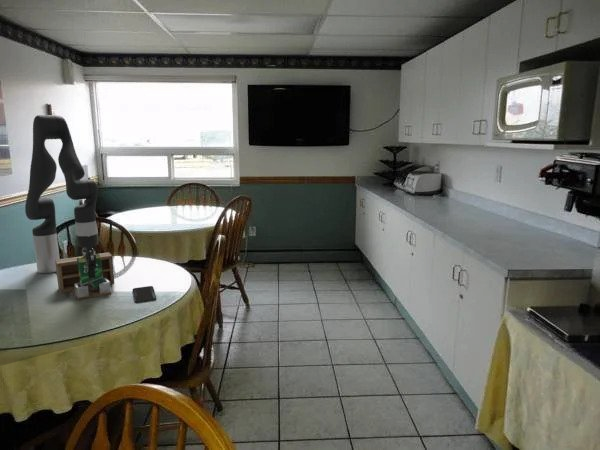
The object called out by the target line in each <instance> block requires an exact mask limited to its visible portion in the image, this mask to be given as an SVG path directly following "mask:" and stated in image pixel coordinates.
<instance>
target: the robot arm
mask: <svg viewBox="0 0 600 450" xmlns="http://www.w3.org/2000/svg"><path fill="white" fill-rule="evenodd" d="M32 124H33V125H32V153H31V154H32V155H31V162H30V170H29V182H28V183H29V185H28V189H27V190H28V191H27V196H26V200H25V206H24V210H25V211H24V212H25V216H26V217H27V219H28V220H31V221H39V220H44V221H43V222H42V223H40V224H39V225H37V226H35V227H33V229H32V230H31V233H32V238H33V239H32V240H33V246H34V247H33V249H34V252H35V253H34V255H35V261H36V262H35V263H36V269H37V270H36V271H37V273H38V274H51V273H57V272H56V263H55V260H60V259H61V258H60V252H59V250H60V249H59V242H58V234H57V219H56V205H55V203H54V199H52V198H51V197H42V198H41V196H42V195H43V194H44V193H45V191H47V189H49V188H50V187H51V186H52V184H53V183H54V182H55V180H56V176H57V167H58V166H57V163H56V161H55V159H54V157H53V156H52V155H51V154H50V153H49V151H48V149H47V148H46V145H45V144H46V143H45V142H46V140H60V141H61V143H62V145H61V148H60V152H59V153H58V158H57V161H58V165H59V168H60V169H61V172H62V175H63V176H64V181H65V189H66V195H67V197H68V198H69V199H71V200H72V201H73V200H74V201H79V200H85V201H84V202H83V204H80V205H77V206H75V207H74V208H73V212H74V223H75V224H74V229H75V230H74V233H75V239H76V241H75V242H76V246H77V247H78V248H82V249H81V253H82V256H83V257H85V262H86V263H87V268H88V275H89V278H95V268H96V255H95V254H96V250H95V249H94V246H95V247H96V246H97V245H99V241H100V240H99V233H98V224H97V219H96V206H97V205H96V204H97V200H98V195H99V187H98V184H97V183H96V181H95V180H93V179H83V178H84V177H85V176H86V175H85V173H86V172H85V169H84V167H83V165H82V164H81V161H80V160H79V157H78V155H77V153H76V150H75V149H76V148H75V146H74V142H73V138H72V135H71V131H70V129H69V125H68V123H67V121H66V119H65V118H64V117H63V116H61V115H57V114H56V115H54V114H52V115H50V114H39V115H38V114H37V115H36V116H35V117H34V118H33V123H32ZM87 260H88V261H87ZM90 264H93V265H90Z"/></svg>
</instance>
